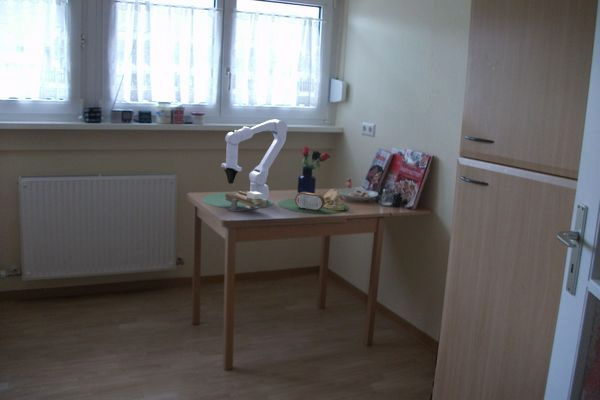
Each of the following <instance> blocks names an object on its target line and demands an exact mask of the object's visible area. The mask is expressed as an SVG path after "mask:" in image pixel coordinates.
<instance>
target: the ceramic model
mask: <svg viewBox="0 0 600 400" xmlns="http://www.w3.org/2000/svg"><path fill="white" fill-rule="evenodd" d="M322 197H323V198H324V200H325V204H324V206H323V208H324V207H325V208H324V209H327V208H328V209H327V210H330V209H331V210H330V211H342V210H345V205H343V201H344V197H343V195H342V194H341V193H340V191H338V190H337V188H330V189H329V190H328V191H327V192H326V193H325V194H324V195H323V196H322Z"/></svg>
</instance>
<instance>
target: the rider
mask: <svg viewBox="0 0 600 400" xmlns="http://www.w3.org/2000/svg"><path fill="white" fill-rule="evenodd" d="M246 193H247V199H248V200H251V201H252V200H260V199H263V193H260V192H257V191H250V190H249V191H247V192H246Z"/></svg>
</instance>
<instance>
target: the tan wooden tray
mask: <svg viewBox="0 0 600 400" xmlns="http://www.w3.org/2000/svg"><path fill="white" fill-rule="evenodd" d="M224 197H225V200H226V201H228V202H229V203H231V199H232V198H234V199H237V203H238V202H239V203H241V204H243V205H245V206H252V207H261V206H262V207H263V206H268V205H269V202H268V201H269V198H268V199H260V200H252V201H251V200H248V199H247V192H244V191H241V190H240V191H238V192H236V193H230V192H225V194H224Z"/></svg>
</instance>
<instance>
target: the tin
mask: <svg viewBox="0 0 600 400" xmlns="http://www.w3.org/2000/svg"><path fill="white" fill-rule="evenodd" d="M323 197H324V196H322V195H321V194H319V193H314V192H309V191H301V192H299V193H297V195H296V196H295V199H294V200H295V205H296V206H297V207H298V208H300V209H302V208H305V209H304V210H309V209H312V210H311V211H315V210H317V211H319V210H321V209H323V208H324V207H323V206H324V204H325V200H324V199H325V198H323Z"/></svg>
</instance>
